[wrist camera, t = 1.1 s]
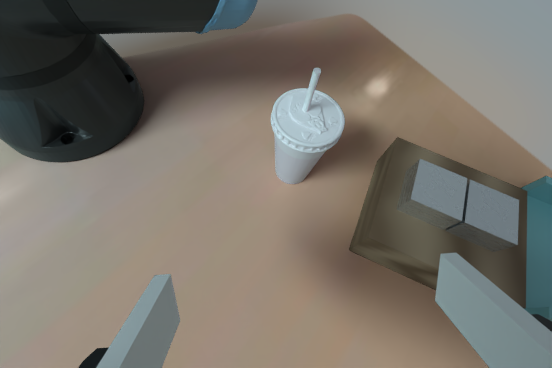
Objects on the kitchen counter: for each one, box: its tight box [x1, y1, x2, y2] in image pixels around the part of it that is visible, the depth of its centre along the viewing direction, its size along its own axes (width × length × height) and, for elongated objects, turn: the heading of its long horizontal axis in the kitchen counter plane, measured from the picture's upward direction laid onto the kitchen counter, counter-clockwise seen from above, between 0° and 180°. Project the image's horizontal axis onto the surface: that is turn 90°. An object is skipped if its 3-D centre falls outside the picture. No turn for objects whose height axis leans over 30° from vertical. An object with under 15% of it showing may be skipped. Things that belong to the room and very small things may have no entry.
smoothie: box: [271, 68, 345, 184], centre depth 27 cm, size 6×6×14 cm
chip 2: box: [446, 180, 519, 252], centre depth 26 cm, size 4×4×2 cm
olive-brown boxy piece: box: [349, 137, 527, 308], centre depth 29 cm, size 14×12×5 cm
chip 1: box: [397, 159, 467, 230], centre depth 26 cm, size 4×4×2 cm
